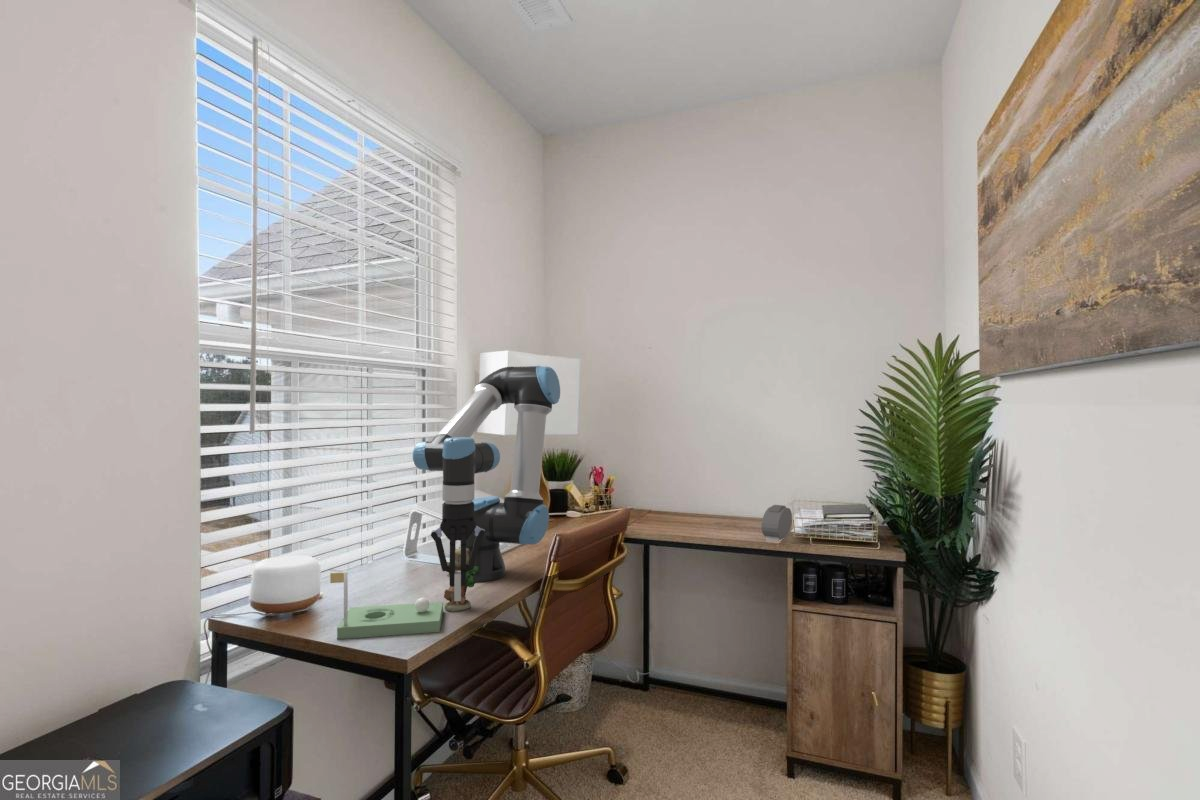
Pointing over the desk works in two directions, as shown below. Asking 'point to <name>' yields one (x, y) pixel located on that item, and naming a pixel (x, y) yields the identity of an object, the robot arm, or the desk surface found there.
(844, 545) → the desk surface
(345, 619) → the flag
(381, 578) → the desk surface
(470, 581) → the figurine
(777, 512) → the alarm clock
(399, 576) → the desk surface
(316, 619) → the desk surface
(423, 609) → the ball
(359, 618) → the green
